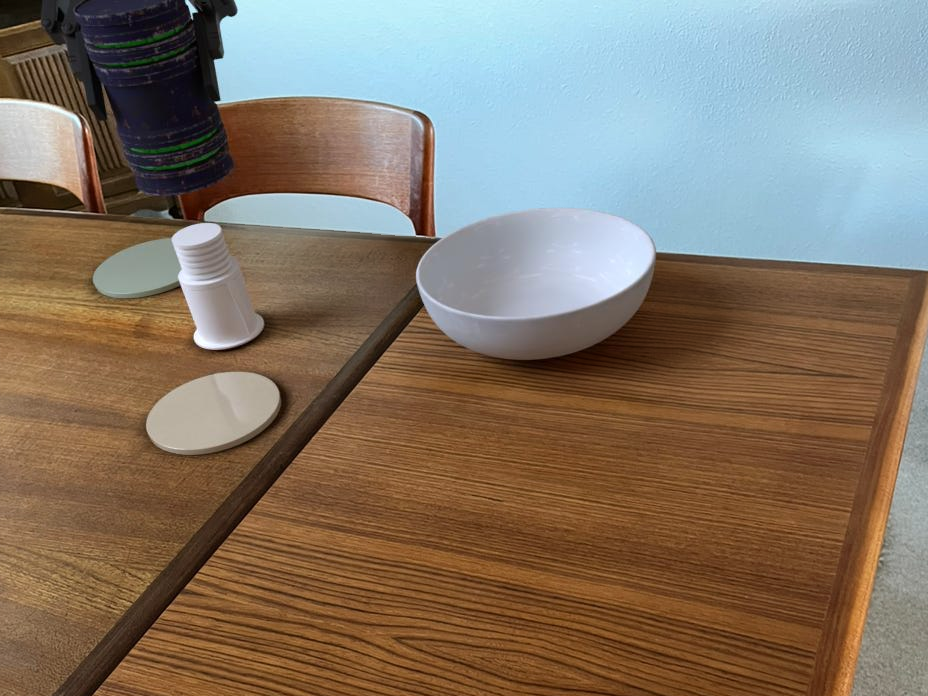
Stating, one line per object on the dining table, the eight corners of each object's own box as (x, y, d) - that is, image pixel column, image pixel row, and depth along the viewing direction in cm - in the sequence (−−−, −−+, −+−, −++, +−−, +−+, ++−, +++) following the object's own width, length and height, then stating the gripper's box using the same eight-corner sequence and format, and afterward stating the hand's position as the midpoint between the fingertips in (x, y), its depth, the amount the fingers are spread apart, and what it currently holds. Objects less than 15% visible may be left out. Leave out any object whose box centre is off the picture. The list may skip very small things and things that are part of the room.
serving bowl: (699, 343, 84) (703, 267, 79) (479, 420, 80) (468, 345, 75) (589, 253, 98) (586, 184, 93) (397, 315, 94) (383, 246, 89)
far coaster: (76, 301, 105) (73, 296, 104) (120, 246, 114) (118, 241, 113) (187, 295, 103) (185, 289, 102) (224, 239, 111) (222, 234, 111)
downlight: (178, 340, 96) (140, 241, 89) (231, 308, 99) (199, 211, 92) (228, 360, 92) (193, 259, 85) (282, 326, 95) (252, 226, 88)
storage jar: (255, 165, 95) (206, -14, 84) (174, 204, 90) (111, 21, 79) (196, 148, 100) (143, -22, 89) (117, 184, 95) (50, 10, 85)
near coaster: (128, 457, 83) (125, 451, 82) (175, 379, 91) (172, 373, 90) (260, 453, 81) (258, 447, 80) (296, 374, 89) (294, 368, 88)
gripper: (245, -134, 91) (285, 104, 91) (10, -94, 91) (51, 143, 91) (224, -201, 83) (268, 58, 84) (-33, -158, 83) (13, 101, 84)
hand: (155, 103), depth 88 cm, fingers closed on storage jar, 10 cm apart
